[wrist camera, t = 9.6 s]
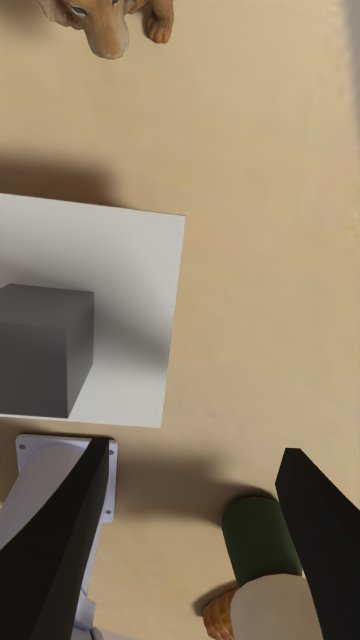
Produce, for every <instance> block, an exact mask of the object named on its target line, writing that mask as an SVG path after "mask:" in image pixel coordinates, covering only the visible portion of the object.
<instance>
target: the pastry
mask: <svg viewBox="0 0 360 640" xmlns="http://www.w3.org/2000/svg"><path fill="white" fill-rule="evenodd" d="M239 589H240V587H238V588H234V590H232V591H228V592H226V593H224V594H222V595H220V596H218V597H216V598H215V599H213V600H212V601H210V603H209V604H208V605H207V606H206V607H205V608H204V610H203V619H204V625H205V627H206V629H207V633H208V635H209V636H210V637H211V638H213V639H215V640H234V635H233V628H232V622H231V615H230V608H231V601H232V599H233V597H234V594H235V592H236V591H238V590H239Z"/></svg>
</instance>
